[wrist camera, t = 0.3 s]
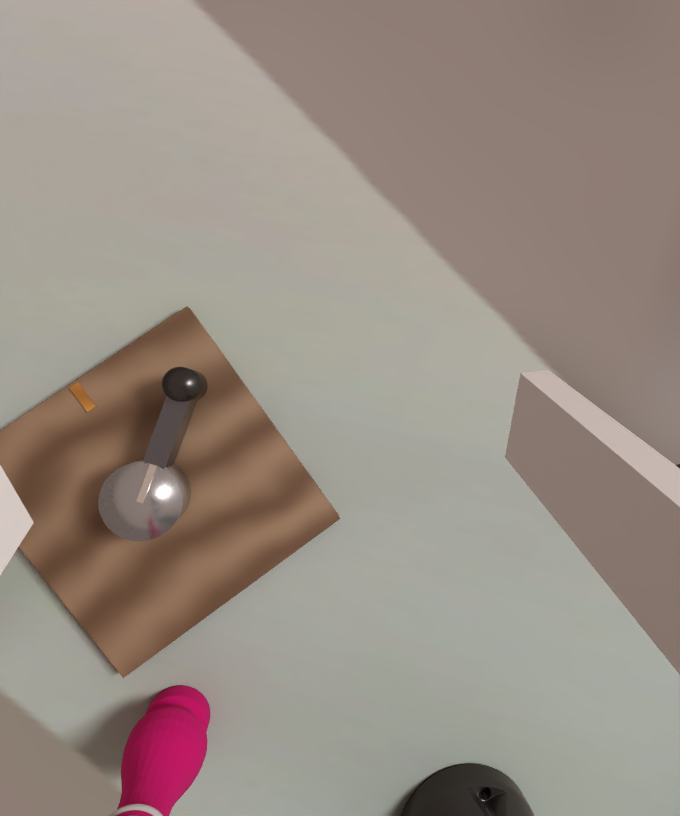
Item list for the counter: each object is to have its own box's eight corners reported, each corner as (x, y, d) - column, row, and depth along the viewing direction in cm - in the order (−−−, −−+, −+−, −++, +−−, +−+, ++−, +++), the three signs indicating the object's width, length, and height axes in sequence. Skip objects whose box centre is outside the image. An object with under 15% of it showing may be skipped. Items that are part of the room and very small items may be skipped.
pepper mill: (129, 732, 43) (-13, 1016, 23) (164, 668, 43) (54, 895, 23) (193, 760, 44) (109, 1059, 24) (228, 697, 44) (173, 942, 24)
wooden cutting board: (338, 514, 45) (340, 519, 43) (129, 668, 43) (122, 679, 41) (190, 309, 43) (186, 305, 41) (-36, 460, 41) (-50, 463, 39)
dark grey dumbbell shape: (176, 538, 41) (162, 555, 37) (104, 516, 41) (81, 530, 36) (232, 383, 42) (225, 381, 37) (162, 358, 41) (146, 353, 36)
